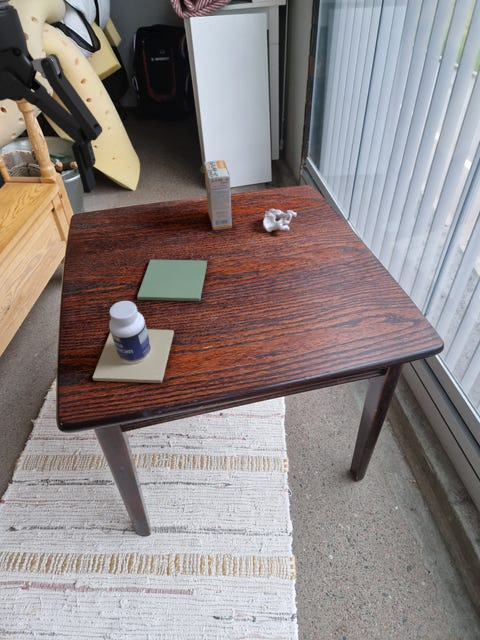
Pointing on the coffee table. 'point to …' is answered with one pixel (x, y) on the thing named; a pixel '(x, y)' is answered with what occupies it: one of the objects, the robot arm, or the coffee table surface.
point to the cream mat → (143, 371)
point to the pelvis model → (270, 221)
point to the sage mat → (173, 280)
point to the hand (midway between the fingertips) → (44, 188)
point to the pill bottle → (129, 332)
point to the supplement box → (218, 194)
